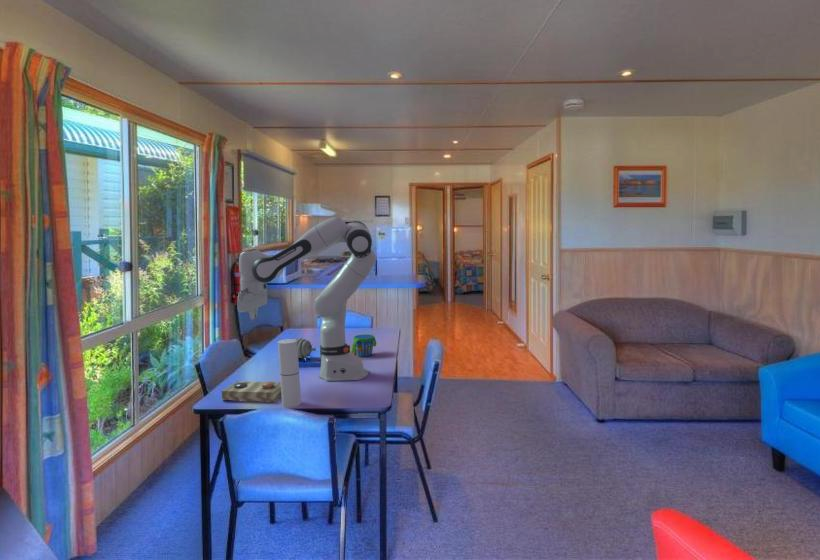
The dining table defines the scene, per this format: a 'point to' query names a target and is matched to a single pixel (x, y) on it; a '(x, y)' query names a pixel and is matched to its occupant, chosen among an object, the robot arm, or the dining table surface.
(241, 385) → the charcoal button
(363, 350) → the snack cup
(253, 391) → the button panel
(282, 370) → the cylindrical container
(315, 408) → the dining table surface
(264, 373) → the dining table surface
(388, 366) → the dining table surface
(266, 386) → the terracotta button
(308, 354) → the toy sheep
